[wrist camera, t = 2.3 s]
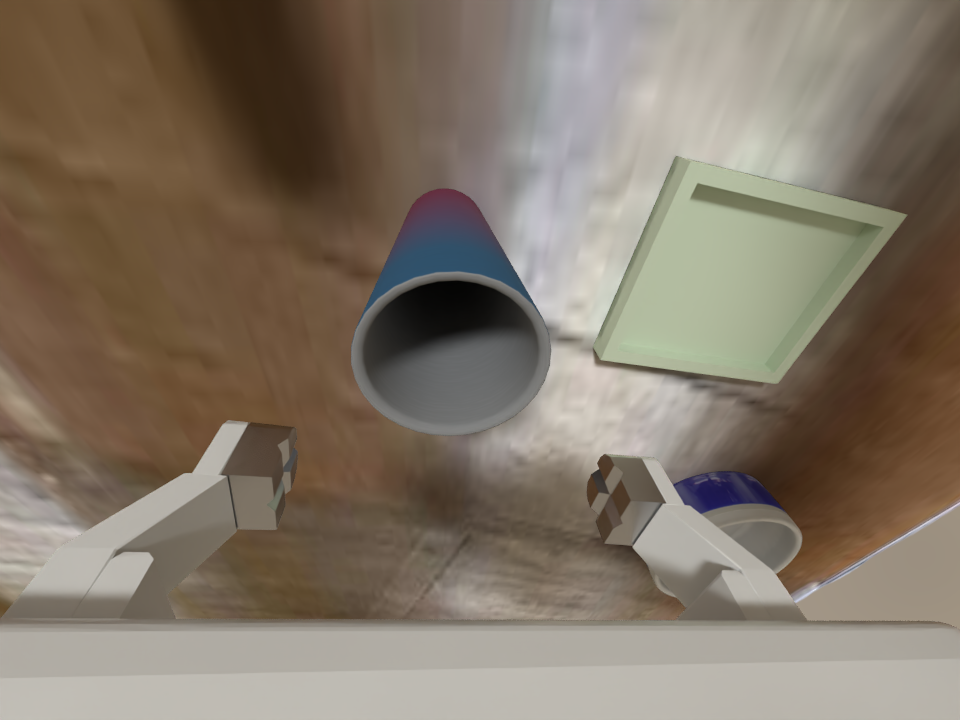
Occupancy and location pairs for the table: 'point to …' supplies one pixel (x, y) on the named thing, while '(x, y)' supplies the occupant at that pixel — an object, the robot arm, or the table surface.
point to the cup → (449, 326)
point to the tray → (738, 273)
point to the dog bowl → (742, 517)
